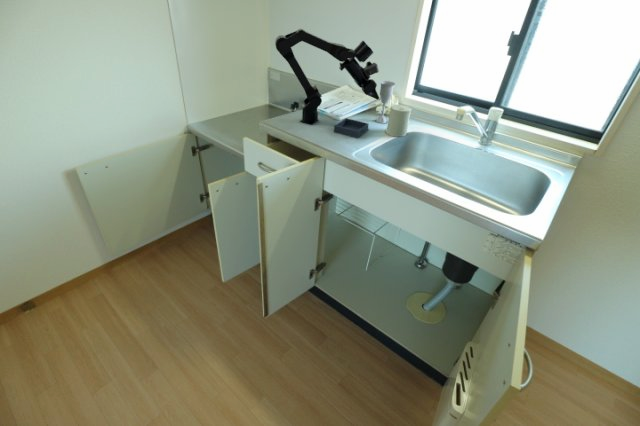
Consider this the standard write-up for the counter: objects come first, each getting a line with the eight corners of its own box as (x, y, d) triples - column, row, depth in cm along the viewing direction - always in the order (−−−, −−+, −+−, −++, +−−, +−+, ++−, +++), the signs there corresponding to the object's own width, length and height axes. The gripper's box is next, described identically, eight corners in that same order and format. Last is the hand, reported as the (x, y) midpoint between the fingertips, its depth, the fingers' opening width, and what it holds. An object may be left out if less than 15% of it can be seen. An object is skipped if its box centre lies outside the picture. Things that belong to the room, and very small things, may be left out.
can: (387, 136, 145) (392, 109, 138) (384, 128, 153) (388, 102, 146) (408, 137, 145) (414, 110, 138) (403, 129, 153) (409, 103, 146)
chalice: (389, 124, 157) (396, 85, 147) (375, 123, 157) (381, 84, 147) (387, 119, 163) (393, 81, 153) (373, 118, 163) (379, 80, 153)
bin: (333, 131, 146) (334, 125, 144) (345, 124, 154) (345, 118, 153) (357, 138, 142) (358, 131, 140) (367, 129, 150) (368, 123, 148)
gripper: (375, 61, 134) (396, 89, 142) (364, 52, 149) (383, 78, 157) (354, 81, 138) (376, 107, 146) (345, 70, 153) (365, 94, 161)
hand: (375, 95), depth 152 cm, fingers open, 9 cm apart
